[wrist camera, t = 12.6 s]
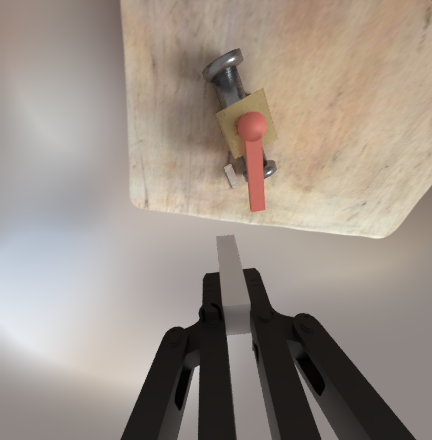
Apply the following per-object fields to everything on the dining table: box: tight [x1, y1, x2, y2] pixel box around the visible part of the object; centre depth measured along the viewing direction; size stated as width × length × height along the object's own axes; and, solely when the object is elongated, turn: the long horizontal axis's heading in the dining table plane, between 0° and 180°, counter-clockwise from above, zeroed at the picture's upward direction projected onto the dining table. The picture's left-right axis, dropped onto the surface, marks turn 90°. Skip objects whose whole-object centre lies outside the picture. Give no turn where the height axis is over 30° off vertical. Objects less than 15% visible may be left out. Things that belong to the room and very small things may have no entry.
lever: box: [238, 111, 266, 212], centre depth 27 cm, size 14×4×1 cm, turn 10°
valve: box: [202, 49, 277, 189], centre depth 30 cm, size 20×9×9 cm, turn 25°
